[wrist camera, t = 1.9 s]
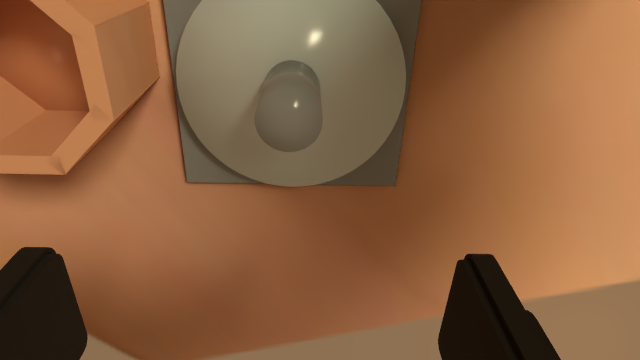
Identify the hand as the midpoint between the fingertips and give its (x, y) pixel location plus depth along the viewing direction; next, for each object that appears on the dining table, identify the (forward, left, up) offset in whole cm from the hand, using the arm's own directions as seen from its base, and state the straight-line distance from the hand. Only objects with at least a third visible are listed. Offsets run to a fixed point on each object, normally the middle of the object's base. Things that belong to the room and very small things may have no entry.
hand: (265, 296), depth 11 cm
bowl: (+13, -2, -18) cm, 22 cm away
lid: (0, 0, -18) cm, 18 cm away
